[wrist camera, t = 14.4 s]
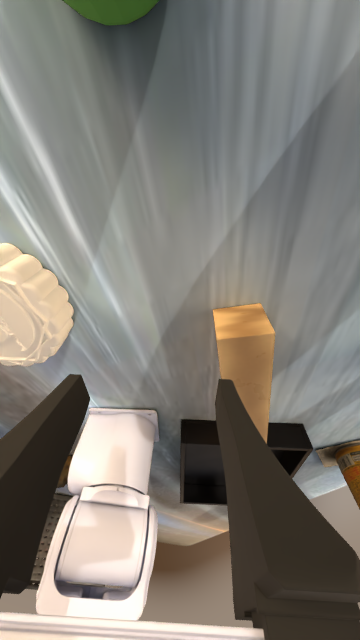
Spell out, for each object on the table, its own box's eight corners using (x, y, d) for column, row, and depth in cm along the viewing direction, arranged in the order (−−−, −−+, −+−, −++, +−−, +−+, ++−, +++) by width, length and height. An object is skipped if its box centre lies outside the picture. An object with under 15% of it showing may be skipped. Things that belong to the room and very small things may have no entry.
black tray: (180, 482, 46) (180, 503, 43) (181, 419, 32) (180, 443, 29) (266, 486, 45) (270, 507, 42) (302, 423, 32) (313, 449, 29)
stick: (225, 416, 31) (229, 449, 28) (212, 309, 21) (217, 339, 17) (257, 414, 31) (266, 447, 27) (260, 303, 20) (275, 332, 17)
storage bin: (123, 505, 55) (107, 590, 44) (106, 523, 66) (89, 596, 55) (-2, 481, 49) (-57, 573, 38) (1, 506, 60) (-42, 583, 49)
